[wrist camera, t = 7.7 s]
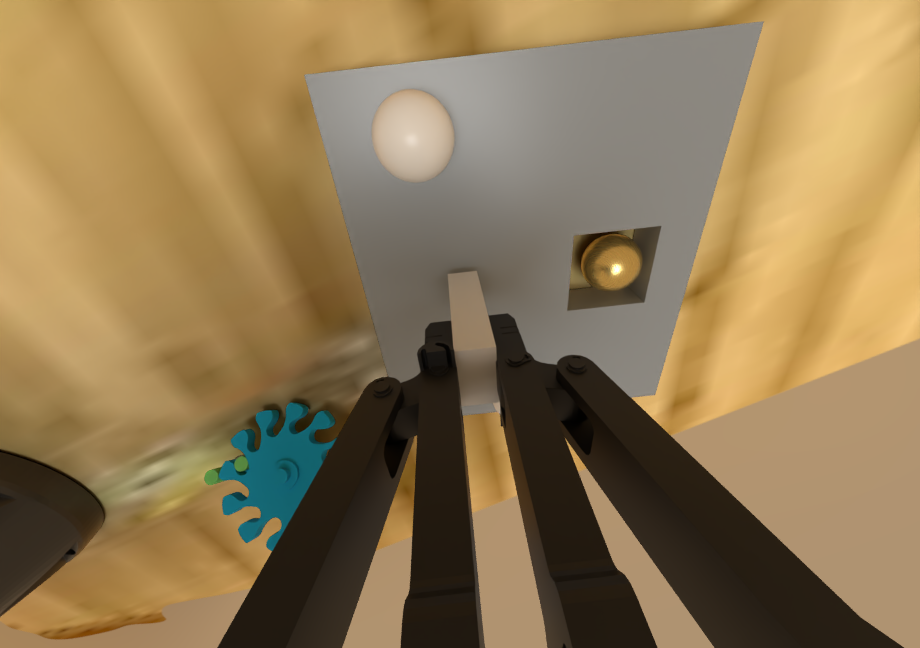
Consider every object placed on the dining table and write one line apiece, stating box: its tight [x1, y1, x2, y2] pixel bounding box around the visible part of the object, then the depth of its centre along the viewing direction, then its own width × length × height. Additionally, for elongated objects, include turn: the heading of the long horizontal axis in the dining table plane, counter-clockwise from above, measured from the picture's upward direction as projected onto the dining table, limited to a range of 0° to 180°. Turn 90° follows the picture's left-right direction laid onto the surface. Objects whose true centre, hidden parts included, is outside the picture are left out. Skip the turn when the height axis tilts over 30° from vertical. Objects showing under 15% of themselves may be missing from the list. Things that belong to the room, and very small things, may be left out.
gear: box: [204, 403, 337, 551], centre depth 27 cm, size 11×6×10 cm
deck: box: [304, 21, 764, 415], centre depth 20 cm, size 18×20×2 cm
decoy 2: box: [372, 89, 454, 183], centre depth 13 cm, size 3×3×3 cm
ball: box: [581, 234, 643, 291], centre depth 19 cm, size 3×3×3 cm
